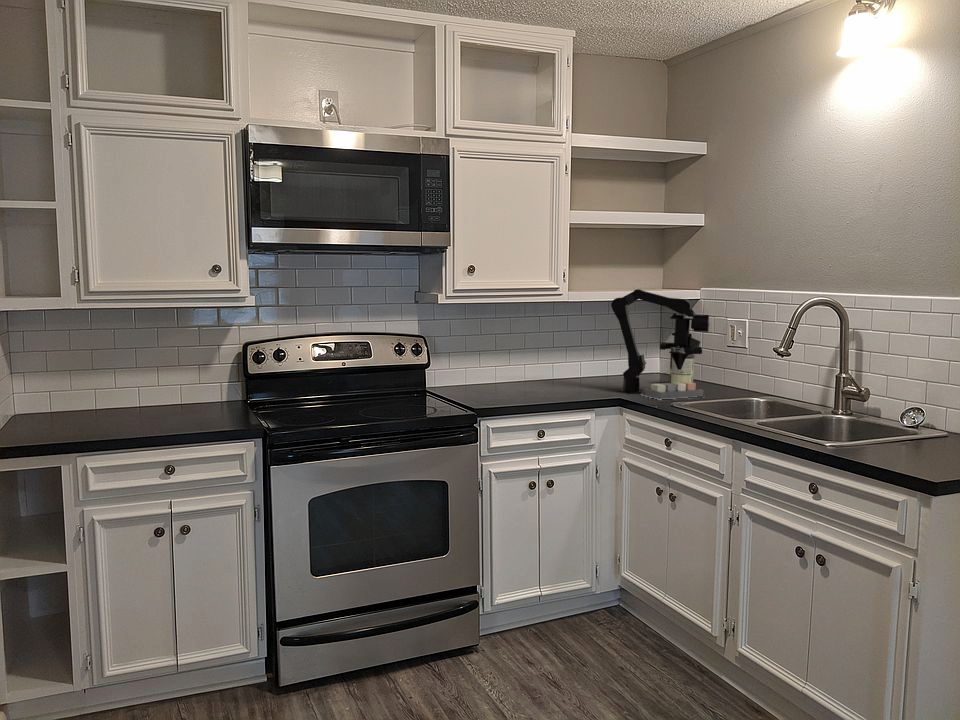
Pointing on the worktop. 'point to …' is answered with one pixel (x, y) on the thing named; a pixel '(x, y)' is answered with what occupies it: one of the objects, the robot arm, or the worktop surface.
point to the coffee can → (682, 370)
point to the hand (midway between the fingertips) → (679, 369)
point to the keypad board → (671, 394)
